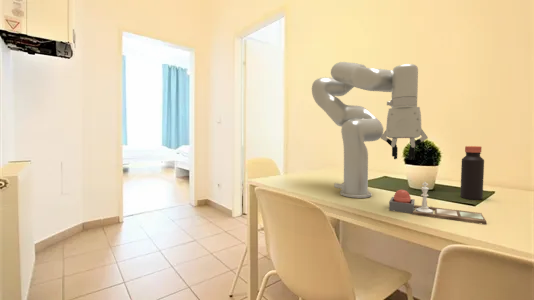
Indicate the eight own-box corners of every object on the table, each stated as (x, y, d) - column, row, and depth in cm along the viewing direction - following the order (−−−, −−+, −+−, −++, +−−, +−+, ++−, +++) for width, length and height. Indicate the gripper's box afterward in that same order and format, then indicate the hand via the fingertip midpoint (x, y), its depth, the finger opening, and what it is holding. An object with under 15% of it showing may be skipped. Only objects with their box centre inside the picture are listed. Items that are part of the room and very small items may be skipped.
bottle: (457, 195, 106) (459, 145, 104) (478, 196, 103) (480, 146, 102) (463, 199, 99) (465, 147, 98) (485, 200, 97) (488, 147, 95)
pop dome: (392, 204, 87) (393, 190, 87) (394, 200, 92) (395, 187, 91) (409, 206, 85) (410, 192, 84) (410, 202, 89) (411, 189, 89)
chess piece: (435, 214, 82) (436, 183, 81) (418, 214, 83) (419, 183, 82) (429, 210, 87) (430, 180, 86) (413, 209, 88) (414, 180, 87)
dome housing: (389, 210, 87) (389, 201, 87) (391, 205, 93) (392, 196, 93) (413, 213, 84) (413, 204, 83) (414, 208, 89) (414, 199, 89)
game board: (412, 214, 83) (412, 211, 83) (414, 207, 90) (414, 204, 90) (486, 224, 73) (486, 221, 73) (481, 215, 81) (481, 212, 81)
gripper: (375, 104, 87) (374, 159, 88) (434, 100, 78) (432, 161, 79) (378, 106, 93) (378, 157, 95) (434, 102, 85) (432, 159, 86)
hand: (402, 158), depth 87 cm, fingers open, 3 cm apart
